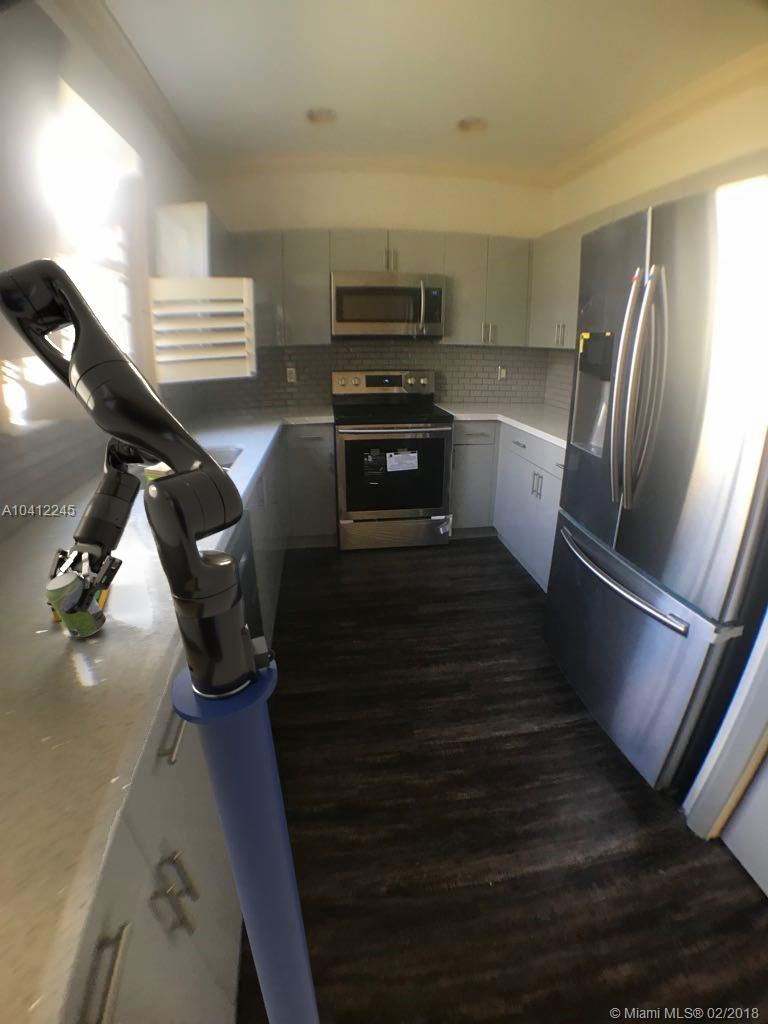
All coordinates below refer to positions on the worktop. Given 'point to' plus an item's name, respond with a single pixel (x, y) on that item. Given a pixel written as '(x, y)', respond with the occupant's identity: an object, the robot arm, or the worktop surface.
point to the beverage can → (63, 600)
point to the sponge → (98, 596)
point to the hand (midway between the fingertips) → (66, 608)
